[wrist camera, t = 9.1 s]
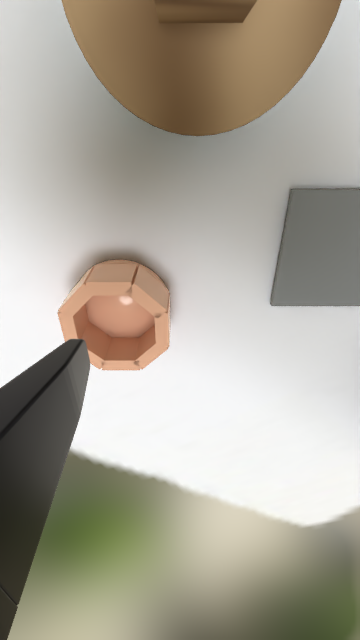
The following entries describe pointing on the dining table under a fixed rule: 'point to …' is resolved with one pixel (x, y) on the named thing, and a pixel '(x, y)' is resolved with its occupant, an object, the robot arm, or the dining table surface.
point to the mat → (320, 250)
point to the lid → (200, 55)
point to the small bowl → (118, 315)
